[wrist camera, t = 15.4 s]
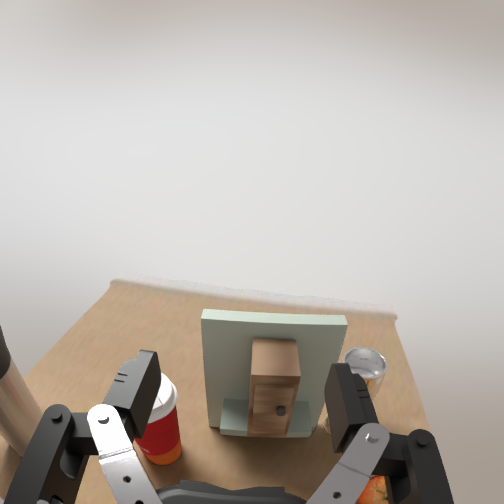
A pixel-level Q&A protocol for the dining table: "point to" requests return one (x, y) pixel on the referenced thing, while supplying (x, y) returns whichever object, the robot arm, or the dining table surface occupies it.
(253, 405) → the cabinet
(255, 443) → the dining table surface
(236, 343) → the wall board
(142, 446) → the coffee cup
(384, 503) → the tomato
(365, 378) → the beer glass
